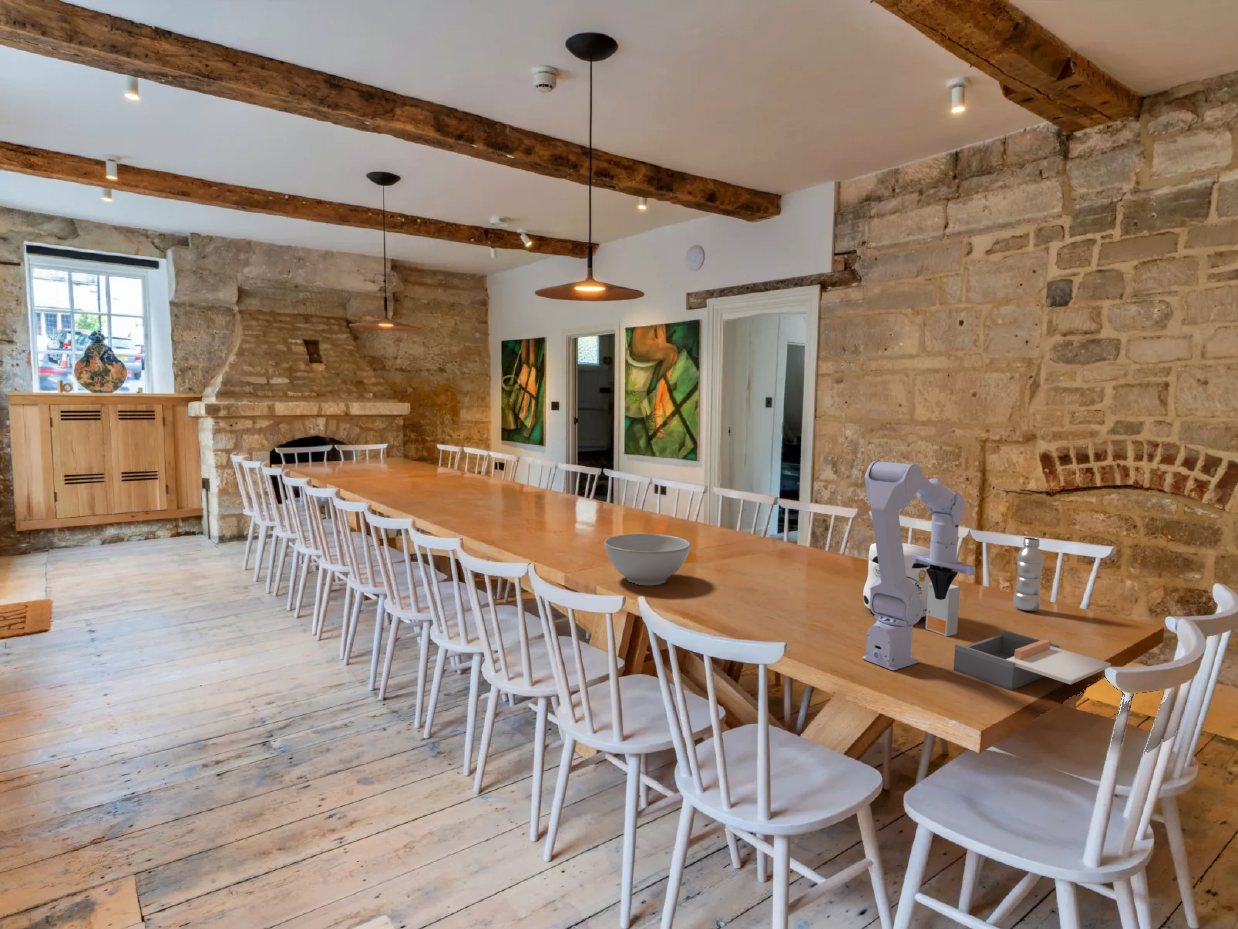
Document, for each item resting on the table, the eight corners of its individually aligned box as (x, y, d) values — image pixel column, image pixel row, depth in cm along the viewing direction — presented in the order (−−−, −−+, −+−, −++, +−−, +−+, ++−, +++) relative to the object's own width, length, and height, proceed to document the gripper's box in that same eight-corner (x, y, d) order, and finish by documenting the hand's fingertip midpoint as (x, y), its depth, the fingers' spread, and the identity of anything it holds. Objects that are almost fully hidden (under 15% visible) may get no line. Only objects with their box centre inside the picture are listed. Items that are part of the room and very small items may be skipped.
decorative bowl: (689, 571, 224) (690, 535, 223) (689, 594, 197) (690, 553, 196) (608, 568, 226) (609, 532, 225) (598, 590, 200) (598, 549, 199)
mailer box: (1011, 690, 134) (1013, 663, 134) (953, 669, 144) (955, 644, 144) (1057, 671, 144) (1059, 645, 144) (1000, 653, 154) (1002, 629, 154)
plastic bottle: (1023, 605, 192) (1028, 535, 190) (1045, 612, 186) (1051, 540, 184) (1006, 607, 190) (1011, 537, 188) (1029, 614, 183) (1034, 541, 181)
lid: (1070, 684, 126) (1071, 671, 126) (1004, 662, 136) (1005, 650, 136) (1110, 666, 135) (1111, 654, 135) (1046, 647, 145) (1046, 636, 145)
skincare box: (924, 629, 170) (927, 582, 169) (935, 626, 172) (938, 580, 171) (946, 637, 165) (950, 588, 164) (957, 634, 167) (960, 586, 166)
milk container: (889, 627, 171) (894, 557, 170) (849, 606, 188) (852, 542, 186) (947, 622, 176) (951, 554, 174) (902, 602, 193) (906, 540, 191)
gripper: (983, 546, 155) (979, 604, 157) (925, 534, 167) (922, 588, 169) (966, 549, 152) (962, 608, 153) (908, 537, 164) (905, 592, 165)
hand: (940, 598), depth 161 cm, fingers closed
